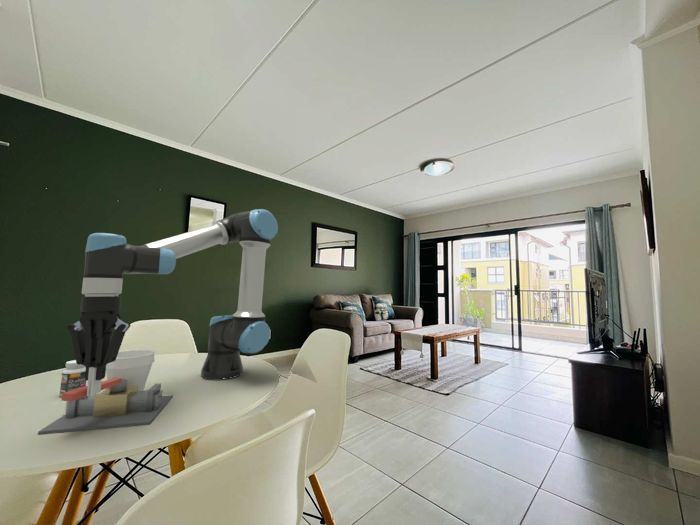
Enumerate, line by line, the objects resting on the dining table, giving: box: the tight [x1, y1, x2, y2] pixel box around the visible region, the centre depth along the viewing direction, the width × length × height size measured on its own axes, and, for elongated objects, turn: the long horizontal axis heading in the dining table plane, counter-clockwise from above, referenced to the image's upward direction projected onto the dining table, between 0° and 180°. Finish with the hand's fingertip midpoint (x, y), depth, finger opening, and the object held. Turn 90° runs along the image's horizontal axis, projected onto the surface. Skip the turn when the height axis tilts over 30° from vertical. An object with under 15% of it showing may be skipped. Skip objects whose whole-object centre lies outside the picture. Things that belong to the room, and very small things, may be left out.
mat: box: [37, 394, 174, 435], centre depth 76 cm, size 22×18×1 cm
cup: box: [105, 348, 156, 391], centre depth 85 cm, size 12×12×14 cm
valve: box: [64, 383, 163, 419], centre depth 76 cm, size 20×7×6 cm, turn 106°
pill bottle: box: [59, 359, 87, 398], centre depth 88 cm, size 6×6×10 cm
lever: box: [61, 377, 128, 402], centre depth 71 cm, size 14×4×3 cm, turn 171°
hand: (93, 393), depth 68 cm, fingers closed
